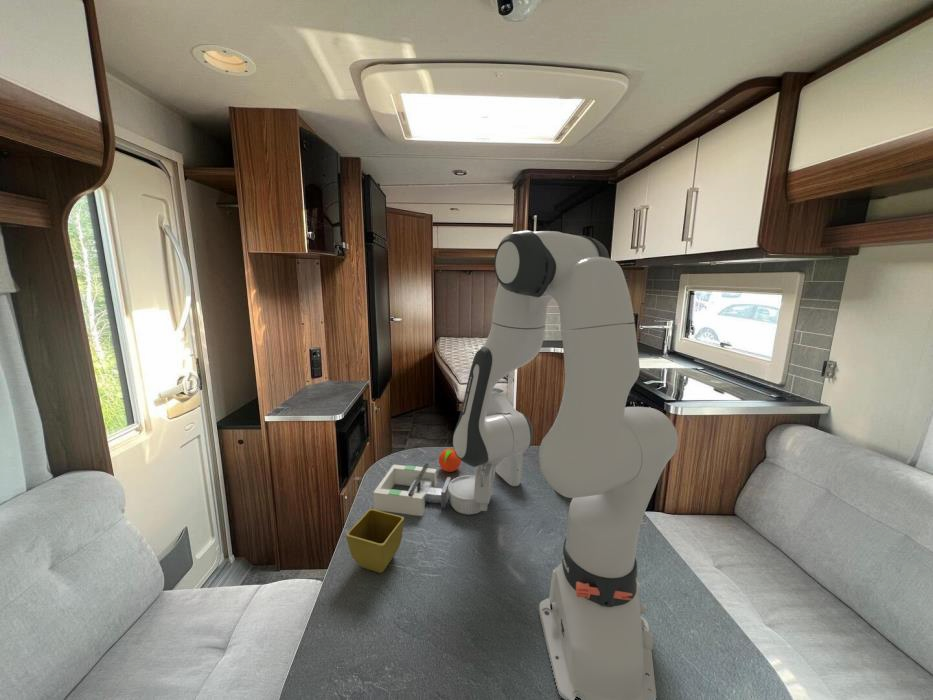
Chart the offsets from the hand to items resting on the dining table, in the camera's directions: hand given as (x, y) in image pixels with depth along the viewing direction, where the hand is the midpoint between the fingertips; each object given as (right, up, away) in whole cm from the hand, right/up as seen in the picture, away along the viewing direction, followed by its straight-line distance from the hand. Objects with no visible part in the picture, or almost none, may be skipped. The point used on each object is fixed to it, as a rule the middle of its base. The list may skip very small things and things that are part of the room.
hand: (486, 497), depth 95 cm
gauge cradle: (-22, -1, +4) cm, 22 cm away
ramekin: (-5, -3, +1) cm, 5 cm away
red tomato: (-10, +1, +17) cm, 20 cm away
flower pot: (-24, -7, -18) cm, 31 cm away
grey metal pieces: (-15, -1, +3) cm, 16 cm away
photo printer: (+7, 0, +14) cm, 16 cm away
